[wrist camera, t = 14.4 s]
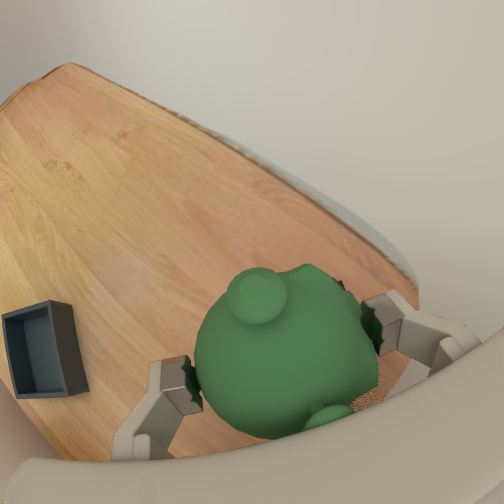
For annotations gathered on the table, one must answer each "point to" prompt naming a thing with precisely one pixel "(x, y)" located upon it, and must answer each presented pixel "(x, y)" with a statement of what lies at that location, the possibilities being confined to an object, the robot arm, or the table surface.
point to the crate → (43, 351)
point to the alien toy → (284, 352)
